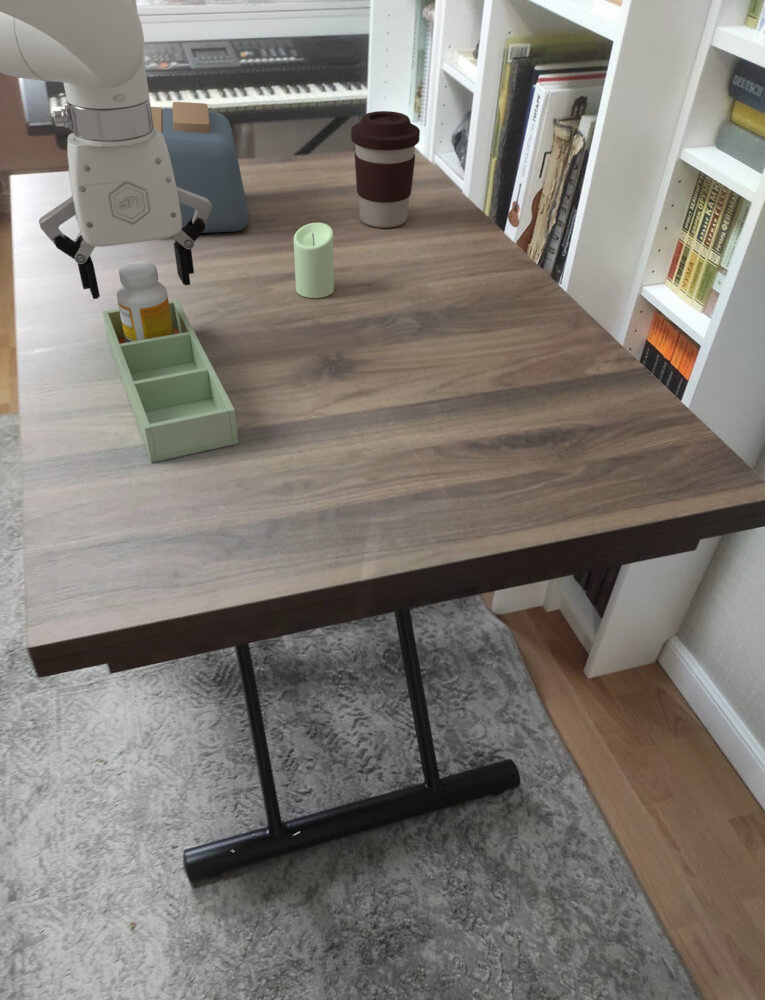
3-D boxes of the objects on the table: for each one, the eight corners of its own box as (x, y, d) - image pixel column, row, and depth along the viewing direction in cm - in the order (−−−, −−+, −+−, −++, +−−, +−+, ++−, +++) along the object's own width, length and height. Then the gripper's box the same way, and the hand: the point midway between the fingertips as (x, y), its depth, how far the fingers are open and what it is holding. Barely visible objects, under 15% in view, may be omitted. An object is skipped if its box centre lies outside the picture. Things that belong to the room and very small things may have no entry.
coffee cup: (354, 233, 124) (354, 128, 115) (348, 209, 132) (347, 107, 122) (420, 231, 126) (425, 127, 116) (410, 207, 133) (414, 107, 123)
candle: (322, 302, 107) (320, 240, 102) (288, 293, 109) (285, 232, 104) (340, 287, 111) (340, 226, 105) (308, 278, 112) (306, 219, 107)
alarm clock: (140, 200, 133) (122, 92, 122) (243, 195, 135) (234, 89, 125) (137, 241, 120) (117, 125, 110) (251, 235, 123) (242, 121, 113)
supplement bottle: (181, 338, 98) (169, 259, 91) (167, 362, 93) (154, 281, 87) (136, 335, 98) (121, 256, 92) (120, 358, 94) (104, 277, 88)
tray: (151, 463, 81) (144, 428, 78) (108, 343, 98) (101, 311, 95) (238, 443, 83) (235, 409, 81) (182, 330, 101) (177, 299, 98)
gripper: (20, 139, 74) (61, 314, 85) (210, 122, 80) (227, 289, 91) (13, 117, 80) (53, 284, 91) (192, 102, 85) (209, 262, 96)
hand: (140, 286), depth 91 cm, fingers open, 9 cm apart
